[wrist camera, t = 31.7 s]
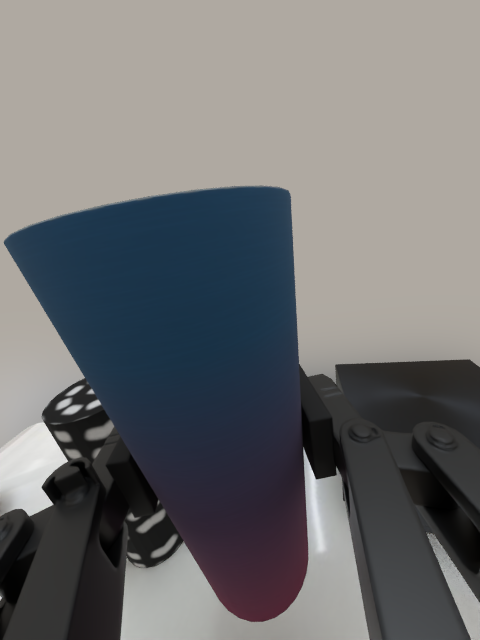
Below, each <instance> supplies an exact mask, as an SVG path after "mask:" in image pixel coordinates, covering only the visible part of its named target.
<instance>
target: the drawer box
mask: <svg viewBox="0 0 480 640" xmlns="http://www.w3.org/2000/svg"><path fill="white" fill-rule="evenodd" d="M335 367H336V385H337V387H338V388H339V389H340V390H341V392H342V394H344V395H345V397H346V398H347V399H348V401H349V402H350V403H351V404H352V406H353V407H354V408H355V409H356V411H357V412H358V413H359V414H360V416H361V417H362V418H363V419H365V420H367V421H370V422H372V423H374V424H375V425H376V426H378V427H379V428H380V429H381V430H384V431H389V432H399V433H413V428H414V427H415V426H416V424H419V423H421V422H436V423H440V424H444V425H446V426H449V427H451V428H453V429H455V430H457V431H458V432H460V433H461V434H462V435H464V436H465V437H466V438H467V439H468V440H470V441H471V442H472V443H473V444H474V445H475V446H477V447H478V448H479V449H480V367H479V366H477V365H476V364H475V363H473V362H472V361H471V360H444V361H419V362H418V361H417V362H391V363H365V364H338V365H335ZM414 506H415V505H414ZM415 508H416V511H417V513H418V515H419V518H420V520H421V523H422V525H423V527H424V530H425V532H430V533H433V531H432V530H431V528H430V527H429V525H428V524H427V522H426V521H425V519H424V518H423V516H422V515H421V513H420V512H419V510H418V509H417V507H416V506H415Z"/></svg>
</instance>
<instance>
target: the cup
mask: <svg viewBox="0 0 480 640" xmlns="http://www.w3.org/2000/svg"><path fill="white" fill-rule="evenodd" d="M4 244H5V246H6V248H7V249H8V251H9V252H10V254H11V256H12V258H13V259H14V261H15V262H16V264H17V266H18V267H19V269H20V271H21V272H22V274H23V276H24V277H25V279H26V281H27V282H28V284H29V286H30V287H31V289H32V291H33V292H34V294H35V296H36V297H37V299H38V301H39V302H40V304H41V306H42V307H43V309H44V310H45V312H46V314H47V315H48V317H49V319H50V320H51V322H52V324H53V325H54V327H55V328H56V330H57V332H58V334H59V335H60V337H61V339H62V340H63V342H64V344H65V345H66V347H67V349H68V350H69V352H70V354H71V355H72V357H73V358H74V360H75V362H76V363H77V365H78V367H79V368H80V370H81V372H82V373H83V375H84V377H85V378H86V380H87V382H88V383H89V385H90V387H91V388H92V390H93V392H94V393H95V395H96V397H97V398H98V400H99V402H100V403H101V405H102V407H103V408H104V410H105V411H106V413H107V415H108V416H109V418H110V420H111V421H112V423H113V425H114V426H115V428H116V430H117V431H118V433H119V435H120V436H121V438H122V440H123V441H124V443H125V445H126V446H127V448H128V450H129V451H130V453H131V455H132V456H133V458H134V460H135V461H136V463H137V464H138V466H139V468H140V469H141V471H142V473H143V474H144V476H145V478H146V479H147V481H148V483H149V484H150V486H151V488H152V489H153V491H154V493H155V494H156V496H157V498H158V499H159V501H160V503H161V504H162V506H163V508H164V509H165V511H166V512H167V514H168V516H169V517H170V519H171V521H172V522H173V524H174V526H175V527H176V529H177V531H178V532H179V534H180V536H181V537H182V539H183V541H184V542H185V544H186V546H187V547H188V549H189V551H190V552H191V554H192V556H193V557H194V559H195V561H196V562H197V564H198V565H199V567H200V569H201V570H202V572H203V574H204V575H205V577H206V579H207V580H208V582H209V584H210V585H211V587H212V589H213V590H214V592H215V594H216V595H217V597H218V599H219V600H220V602H221V603H222V604H223V605H224V606H225V607H226V608H227V610H228V611H230V612H231V613H233V614H234V615H236V616H237V617H238V618H241V619H244V620H247V621H250V622H263V621H266V620H269V619H272V618H275V617H277V616H278V615H280V614H281V613H283V612H284V611H285V610H287V608H288V607H289V606H290V605H291V604H292V603H293V601H294V600H295V599H296V597H297V595H298V593H299V592H300V590H301V588H302V585H303V582H304V579H305V576H306V572H307V565H308V537H307V517H306V497H305V477H304V457H303V437H302V417H301V396H300V376H299V356H298V338H297V337H298V336H297V316H296V298H295V280H294V279H295V276H294V256H293V237H292V217H291V196H290V193H289V191H288V190H286V189H283V188H280V187H272V186H232V187H220V188H210V189H200V190H191V191H184V192H176V193H169V194H163V195H155V196H148V197H143V198H138V199H132V200H128V201H122V202H117V203H111V204H106V205H101V206H97V207H93V208H89V209H85V210H80V211H77V212H72V213H68V214H64V215H60V216H57V217H54V218H51V219H48V220H44V221H41V222H38V223H35V224H32V225H29V226H27V227H25V228H22V229H20V230H18V231H16V232H14V233H12V234H10V235H9V236H8V237H7V238H6V239H5V241H4Z"/></svg>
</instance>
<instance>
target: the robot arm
mask: <svg viewBox="0 0 480 640" xmlns="http://www.w3.org/2000/svg"><path fill="white" fill-rule="evenodd" d="M299 376H300V396H301V417H302V437H303V447H304V450H305V452H306V455H307V457H308V460H309V462H310V465H311V468H312V470H313V473H314V475H315V478H316V479H321V478H326V477H330V476H335V475H336V466H337V468H338V470H339V472H340V474H341V476H342V485H343V501H345V503H346V508H347V514H348V520H349V525H350V531H351V536H352V542H353V548H354V553H355V559H356V565H357V570H358V576H359V582H360V587H361V593H362V598H363V604H364V610H365V615H366V621H367V627H368V632H369V638H370V640H471V639H470V636H469V634H468V632H467V629H466V627H465V624H464V622H463V620H462V617H461V615H460V613H459V610H458V608H457V605H456V603H455V601H454V598H453V596H452V594H451V591H450V589H449V587H448V584H447V582H446V579H445V577H444V575H443V572H442V570H441V568H440V565H439V563H438V560H437V558H436V556H435V553H434V551H433V549H432V546H431V544H430V542H429V539H428V537H427V534H426V532H425V530H424V527H423V525H422V523H421V520H420V518H419V515H418V513H417V511H416V508H415V506H416V507H417V509H418V510H419V512H420V513H421V515H422V516H423V518H424V519H425V521H426V522H427V524H428V525H429V527H430V528H431V530H432V531H433V533H434V534H435V536H436V537H437V539H438V540H439V542H440V543H441V545H442V546H443V548H444V549H445V551H446V552H447V554H448V555H449V557H450V558H451V560H452V561H453V563H454V564H455V566H456V567H457V569H458V570H459V572H460V573H461V575H462V576H463V578H464V579H465V581H466V582H467V584H468V585H469V587H470V588H471V590H472V591H473V593H474V594H475V596H476V597H477V599H478V600H479V602H480V449H479V448H478V447H477V446H475V445H474V444H473V443H472V442H471V441H470V440H468V439H467V438H466V437H465V436H464V435H462V434H461V433H460V432H458V431H457V430H455V429H453V428H451V427H449V426H446V425H444V424H440V423H436V422H421V423H419V424H416V426H415V427H414V428H413V433H399V432H389V431H384V430H381V429H380V428H379V427H378V426H376V425H375V424H374V423H372V422H370V421H367V420H365V419H363V418H362V417H361V416H360V414H359V413H358V412H357V411H356V409H355V408H354V407H353V406H352V404H351V403H350V402H349V401H348V399H347V398H346V397H345V395H344V394H342V392H341V390H340V389H339V388H338V387H337V385H336V384H335V383H334V382H333V380H332V379H330V378H329V377H327V376H325V375H323V374H319V375H315V376H310V377H307V376H306V374H305V372H304V371H303V369H302V368H301V366H300V364H299ZM42 489H43V490H44V492H45V493H46V494H47V496H48V497H49V499H50V500H51V501H52V503H53V504H54V505H52V506H50V507H48V508H46V509H44V510H42V511H40V512H38V513H36V514H34V515H32V516H30V517H29V516H28V514H27V513H26V512H25V511H24V510H23V509H15V510H12V511H10V512H8V513H5V514H4V515H2V516H1V517H0V596H1V597H2V599H1V601H0V640H120V636H121V623H122V609H123V595H124V582H125V568H126V555H127V541H128V527H127V524H126V523H125V518H126V515H127V512H128V510H129V509H130V511H131V513H132V514H133V516H134V518H138V517H142V516H147V515H152V514H155V512H156V508H157V504H158V500H159V499H158V498H157V496H156V494H155V493H154V491H153V489H152V488H151V486H150V484H149V483H148V481H147V479H146V478H145V476H144V474H143V473H142V471H141V469H140V468H139V466H138V464H137V463H136V461H135V460H134V458H133V456H132V455H131V453H130V451H129V450H128V448H127V446H126V445H125V443H124V441H123V440H122V438H121V436H120V435H119V433H118V431H117V430H116V428H115V426H114V428H113V429H112V431H111V433H110V434H109V437H108V438H107V439H106V441H105V443H104V446H102V448H101V450H100V451H99V453H98V455H97V456H96V458H95V460H94V462H93V463H92V464H91V462H90V461H89V460H88V459H87V458H86V457H79V458H76V459H72V460H71V461H69V462H67V463H65V464H63V465H62V466H60V467H59V468H58V469H56V470H55V471H54V472H53V473H52V474H51V475H50V476H49V477H48V478H47V479H46V481H45V482H44V484H43V485H42ZM414 505H415V506H414Z"/></svg>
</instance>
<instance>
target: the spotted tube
mask: <svg viewBox="0 0 480 640" xmlns="http://www.w3.org/2000/svg"><path fill="white" fill-rule="evenodd" d="M42 419H43V421H44V423H45V424H46V426H47V428H48V429H49V431H50V432H51V434H52V436H53V437H54V439H55V441H56V442H57V444H58V445H59V447H60V449H61V450H62V452H63V454H64V455H65V457H66V458H67V460H68V462H69V461H71V460H72V459H76V458H79V457H86V458H87V459H88V460H89V461H90V462H91V464H92V463H93V462H94V460H95V458H96V456H97V455H98V453H99V451H100V450H101V448H102V446H104V443H105V441H106V439H107V438H108V437H109V434H110V433H111V431H112V429H113V428H114V425H113V423H112V421H111V420H110V418H109V416H108V415H107V413H106V411H105V410H104V408H103V407H102V405H101V403H100V402H99V400H98V398H97V397H96V395H95V393H94V392H93V390H92V388H91V387H90V385H89V383H88V382H87V380H86V378H84V379H82V380H80V381H78V382H77V383H75V384H73V385H71V386H70V387H68V388H67V389H65V390H64V391H62V392H61V393H60V394H58V395H57V396H56V397H55V398H54V399H53V400H51V401H50V403H49V404H48V405H47V406H46V407H45V409H44V411H43V413H42ZM125 523H126V524H127V527H128V541H127V555H126V556H127V558H128V559H129V561H130V562H131V563H132V564H134V565H135V566H138V567H144V568H147V567H152V566H155V565H157V564H159V563H161V562H163V561H164V560H166V559H167V558H169V557H170V556H171V555H172V554H173V553H174V552H175V551H176V550H177V549H178V547H179V546H180V545H181V543H182V542H183V539H182V537H181V536H180V534H179V532H178V531H177V529H176V527H175V526H174V524H173V522H172V521H171V519H170V517H169V516H168V514H167V512H166V511H165V509H164V508H163V506H162V504H161V503H160V501H159V500H158V504H157V508H156V512H155V514H152V515H147V516H142V517H138V518H134V516H133V514H132V513H131V511H130V509H129V510H128V512H127V515H126V518H125Z"/></svg>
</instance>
